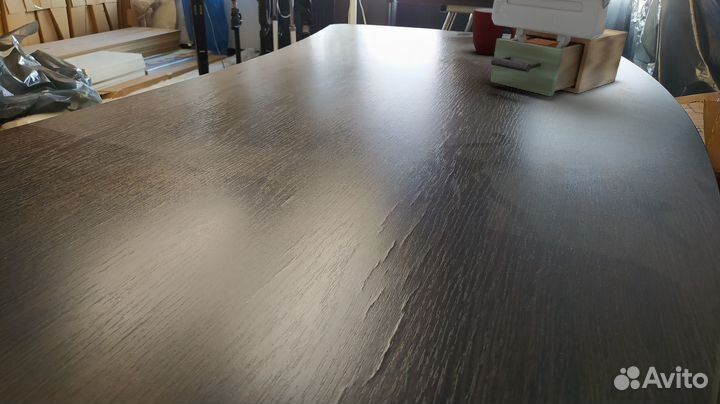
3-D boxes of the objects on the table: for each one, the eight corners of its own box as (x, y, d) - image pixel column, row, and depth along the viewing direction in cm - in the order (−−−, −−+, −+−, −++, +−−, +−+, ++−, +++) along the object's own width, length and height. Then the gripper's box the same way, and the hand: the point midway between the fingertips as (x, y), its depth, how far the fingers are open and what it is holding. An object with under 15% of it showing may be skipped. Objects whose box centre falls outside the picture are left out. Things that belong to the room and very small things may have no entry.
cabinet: (578, 93, 92) (590, 39, 87) (513, 78, 101) (522, 29, 96) (614, 81, 101) (627, 31, 97) (553, 68, 110) (562, 23, 105)
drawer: (535, 101, 83) (544, 53, 80) (474, 85, 91) (480, 41, 88) (589, 83, 95) (599, 41, 91) (531, 71, 103) (538, 32, 99)
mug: (513, 53, 125) (520, 10, 120) (510, 59, 118) (517, 14, 114) (471, 49, 128) (476, 7, 123) (465, 54, 121) (471, 11, 117)
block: (553, 67, 91) (559, 42, 89) (541, 70, 89) (546, 44, 86) (532, 63, 94) (536, 38, 92) (518, 65, 92) (523, 40, 89)
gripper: (624, -22, 79) (602, 65, 86) (512, -30, 93) (500, 47, 99) (606, -21, 76) (584, 70, 82) (493, -29, 89) (482, 50, 95)
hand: (538, 57), depth 91 cm, fingers closed on block, 4 cm apart
